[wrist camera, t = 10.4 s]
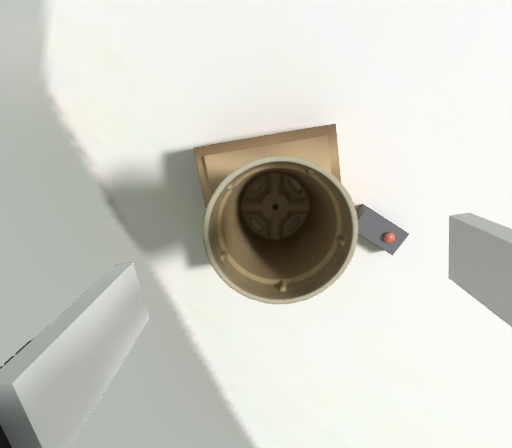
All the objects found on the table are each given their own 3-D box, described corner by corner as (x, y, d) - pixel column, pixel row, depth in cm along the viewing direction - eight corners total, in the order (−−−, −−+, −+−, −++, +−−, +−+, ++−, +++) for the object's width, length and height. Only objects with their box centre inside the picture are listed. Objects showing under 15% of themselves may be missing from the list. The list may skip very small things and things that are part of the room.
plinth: (201, 146, 30) (192, 147, 26) (326, 125, 29) (336, 123, 25) (224, 262, 33) (220, 277, 29) (338, 245, 32) (348, 259, 28)
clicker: (346, 224, 32) (352, 230, 30) (361, 203, 31) (368, 207, 29) (385, 249, 32) (393, 256, 30) (401, 228, 32) (410, 234, 30)
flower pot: (206, 235, 28) (183, 277, 20) (240, 133, 25) (231, 131, 17) (303, 269, 29) (320, 323, 20) (345, 173, 26) (385, 189, 18)
